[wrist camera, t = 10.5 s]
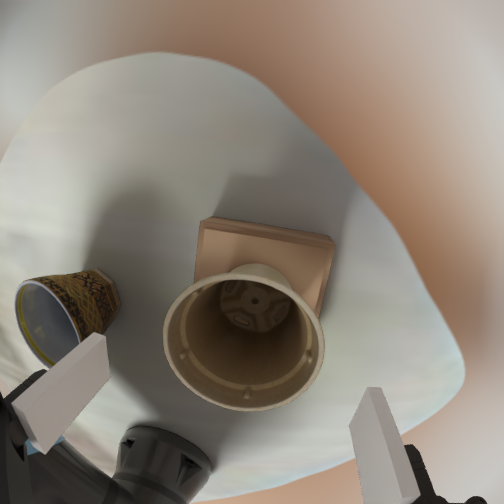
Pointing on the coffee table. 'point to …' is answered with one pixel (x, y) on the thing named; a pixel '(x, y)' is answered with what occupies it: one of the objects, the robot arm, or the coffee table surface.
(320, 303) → the stand
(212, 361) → the flower pot
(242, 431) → the coffee table surface
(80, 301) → the ceramic cup
